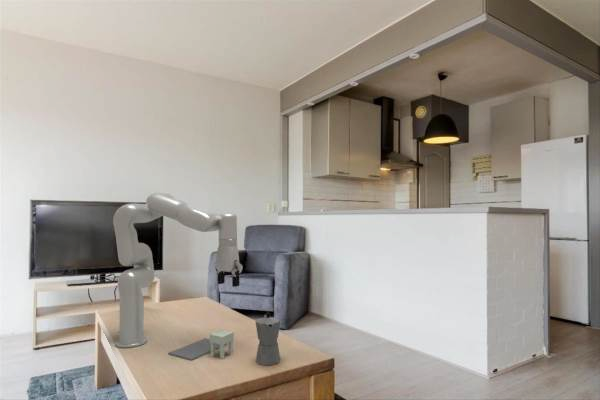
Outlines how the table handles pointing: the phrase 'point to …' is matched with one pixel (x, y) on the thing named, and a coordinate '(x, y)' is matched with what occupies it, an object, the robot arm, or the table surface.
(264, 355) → the coffeepot
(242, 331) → the table surface
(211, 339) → the pale green stool
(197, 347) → the mat
